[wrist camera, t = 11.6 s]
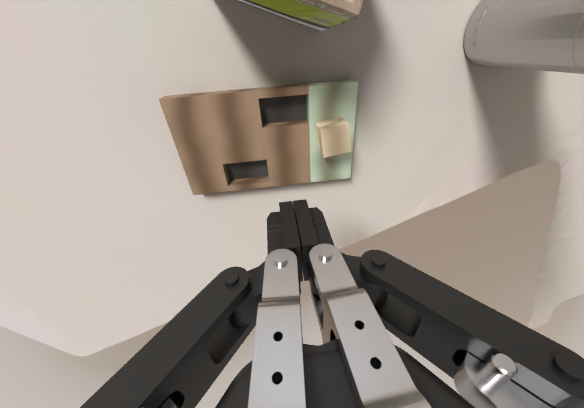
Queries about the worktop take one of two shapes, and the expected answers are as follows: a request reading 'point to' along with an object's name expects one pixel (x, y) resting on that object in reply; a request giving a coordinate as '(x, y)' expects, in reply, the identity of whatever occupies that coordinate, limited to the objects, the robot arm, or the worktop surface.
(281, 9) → the tea box
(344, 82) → the board
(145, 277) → the worktop surface
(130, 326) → the worktop surface
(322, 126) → the block
